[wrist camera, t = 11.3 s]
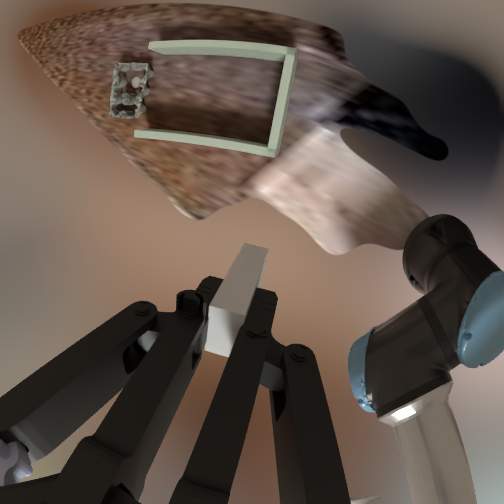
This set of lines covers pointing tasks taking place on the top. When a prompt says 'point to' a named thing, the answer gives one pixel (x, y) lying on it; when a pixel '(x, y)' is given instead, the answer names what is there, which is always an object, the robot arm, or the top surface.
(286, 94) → the u-shaped frame
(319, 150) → the top surface
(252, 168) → the top surface
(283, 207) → the top surface
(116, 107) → the egg carton
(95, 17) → the top surface
